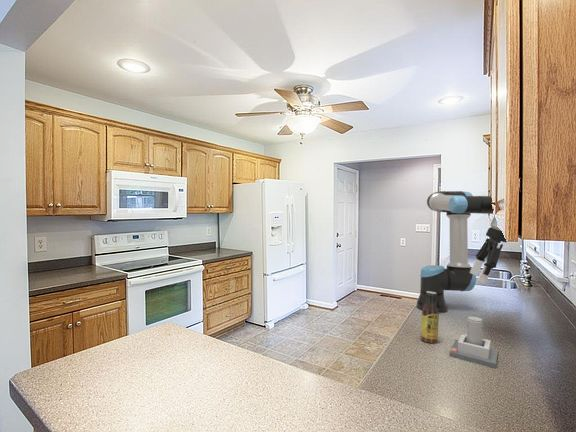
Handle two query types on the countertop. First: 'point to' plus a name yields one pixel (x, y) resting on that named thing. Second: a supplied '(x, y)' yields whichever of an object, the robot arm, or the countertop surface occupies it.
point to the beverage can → (474, 330)
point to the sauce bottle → (430, 319)
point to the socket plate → (475, 352)
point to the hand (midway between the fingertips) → (476, 278)
